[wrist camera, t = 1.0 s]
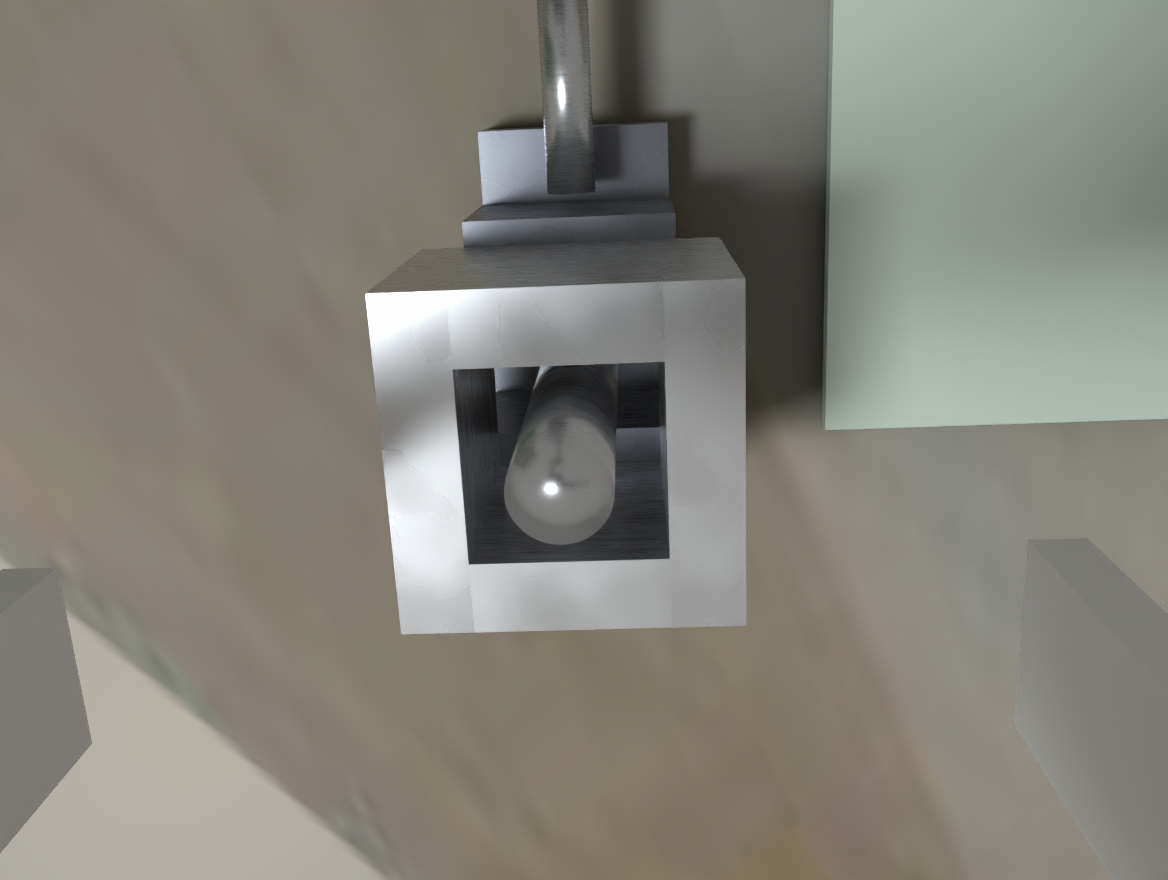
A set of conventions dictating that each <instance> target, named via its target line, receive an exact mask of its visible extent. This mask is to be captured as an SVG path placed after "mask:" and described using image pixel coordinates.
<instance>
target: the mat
mask: <svg viewBox="0 0 1168 880" xmlns="http://www.w3.org/2000/svg"><path fill="white" fill-rule="evenodd" d="M1142 419H1168V0H830V15H829V68H828V120H827V173H826V226H825V279H824V331H823V384H822V426H823V427H824V429H825V430H842V429H872V428H902V427H932V426H962V425H992V424H1022V423H1052V422H1082V421H1112V420H1142Z"/></svg>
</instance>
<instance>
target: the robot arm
mask: <svg viewBox="0 0 1168 880" xmlns="http://www.w3.org/2000/svg"><path fill="white" fill-rule="evenodd" d="M1014 725H1015V727H1016V729H1017V730H1018V732H1019V733H1020V735H1021V737H1022V738H1023V740H1024V741H1025V743H1026V745H1027V746H1028V748H1029V749H1030V751H1031V753H1032V754H1033V756H1034V757H1035V759H1036V761H1037V762H1038V764H1039V765H1040V767H1041V769H1042V770H1043V772H1044V773H1045V775H1046V777H1047V778H1048V780H1049V781H1050V783H1051V785H1052V786H1053V788H1054V789H1055V791H1056V793H1057V794H1058V796H1059V797H1060V799H1061V801H1062V802H1063V804H1064V805H1065V807H1066V809H1067V810H1068V812H1069V813H1070V815H1071V817H1072V818H1073V820H1074V821H1075V823H1076V825H1077V826H1078V828H1079V830H1080V831H1081V833H1082V834H1083V836H1084V838H1085V839H1086V841H1087V842H1088V844H1089V846H1090V847H1091V849H1092V850H1093V852H1094V854H1095V855H1096V857H1097V858H1098V860H1099V862H1100V863H1101V865H1102V866H1103V868H1104V870H1105V871H1106V873H1107V874H1108V876H1109V878H1110V879H1111V880H1168V614H1167V613H1166V612H1165V611H1163V610H1162V609H1161V608H1160V607H1159V606H1158V605H1157V604H1156V603H1155V602H1154V601H1153V600H1152V599H1151V598H1150V597H1149V596H1148V595H1147V594H1145V593H1144V592H1143V591H1142V590H1141V589H1140V588H1139V587H1138V586H1137V585H1136V584H1135V583H1134V582H1133V581H1132V580H1131V579H1130V578H1129V577H1127V576H1126V575H1125V574H1124V573H1123V572H1122V571H1121V570H1120V569H1119V568H1118V567H1117V566H1116V565H1115V564H1114V563H1113V562H1112V561H1111V560H1109V559H1108V558H1107V557H1106V556H1105V555H1104V554H1103V553H1102V552H1101V551H1100V550H1099V549H1098V548H1097V547H1096V546H1095V545H1094V544H1093V543H1092V542H1090V541H1089V540H1088V539H1087V538H1085V539H1050V540H1028V546H1027V559H1026V572H1025V586H1024V599H1023V612H1022V625H1021V639H1020V652H1019V665H1018V678H1017V692H1016V705H1015V718H1014ZM91 744H92V741H91V735H90V731H89V726H88V721H87V715H86V710H85V705H84V700H83V695H82V691H81V685H80V680H79V675H78V670H77V665H76V660H75V655H74V650H73V645H72V640H71V635H70V630H69V625H68V620H67V615H66V610H65V605H64V600H63V595H62V590H61V585H60V579H59V574H58V569H57V568H23V569H2V570H1V571H0V853H1V852H2V850H3V849H4V848H5V847H6V846H7V844H8V843H9V842H10V841H11V840H12V838H13V837H14V836H15V835H16V834H17V832H18V831H19V830H20V829H21V828H22V827H23V825H24V824H25V823H26V822H27V820H28V819H29V818H30V817H31V816H32V814H33V813H34V812H35V811H36V810H37V808H38V807H39V806H40V805H41V804H42V803H43V801H44V800H45V799H46V798H47V797H48V795H49V794H50V793H51V792H52V791H53V789H54V788H55V787H56V786H57V785H58V783H59V782H60V781H61V780H62V779H63V777H64V776H65V775H66V774H67V773H68V771H69V770H70V769H71V768H72V767H73V765H74V764H75V763H76V762H77V761H78V759H79V758H80V757H81V756H82V755H83V753H84V752H85V751H86V750H87V749H88V747H89V746H90V745H91Z"/></svg>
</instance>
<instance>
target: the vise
mask: <svg viewBox="0 0 1168 880" xmlns="http://www.w3.org/2000/svg"><path fill="white" fill-rule="evenodd" d="M537 10H538V29H539V47H540V65H541V83H542V102H543V120H544V127H526V128H505V129H486V130H483V131H479V132H478V142H479V156H480V170H481V183H482V197H483V205H482V206H481V207H480V208H479V209H477V210H476V211H475V212H474V213H473V214H471V215H470V216H469V217H468V218H466V219H465V220H464V221H463V222H462V227H463V240H464V248H465V247H489V246H513V245H537V244H561V243H585V242H609V241H633V240H656V239H676V212H675V210H674V208H673V205H672V203H671V200H670V198H669V167H668V123H667V122H666V121H654V122H632V123H611V124H593V120H592V96H591V73H590V49H589V25H588V2H587V0H537ZM495 377H496V391H497V392H496V403H497V417H498V431H499V445H500V459H501V467H509V469H508V472H507V476H506V479H505V484H504V499H505V504H506V507H507V510H508V512H509V515H510V516H511V518H512V520H513V521H514V522H515V524H516V525H517V526H518V527H519V528H520V529H521V530H522V531H523V532H525V533H526V534H527V535H529V536H530V537H532V538H534V539H536V540H539V541H541V542H545V543H548V544H555V545H564V544H572V543H576V542H579V541H582V540H584V539H586V538H588V537H590V536H591V535H593V534H594V533H596V532H597V531H598V530H599V529H600V528H601V527H602V526H603V525H604V524H605V522H606V521H607V519H608V517H609V515H610V513H611V511H612V508H613V504H614V496H615V463H639V462H661V454H660V417H659V379H658V362H644V363H616V364H589V365H561V366H534V367H507V368H495Z"/></svg>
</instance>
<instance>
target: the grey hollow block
mask: <svg viewBox="0 0 1168 880" xmlns="http://www.w3.org/2000/svg"><path fill="white" fill-rule="evenodd" d="M365 296H366V305H367V314H368V324H369V333H370V343H371V352H372V362H373V371H374V380H375V390H376V399H377V409H378V418H379V428H380V437H381V446H382V456H383V465H384V475H385V484H386V494H387V503H388V512H389V522H390V531H391V541H392V550H393V560H394V569H395V578H396V588H397V597H398V607H399V616H400V626H401V634H428V633H468V632H508V631H548V630H588V629H628V628H668V627H708V626H746V311H745V277H744V275H743V274H742V272H741V271H740V269H739V268H738V266H737V264H736V263H735V261H734V260H733V258H732V257H731V255H730V253H729V252H728V250H727V249H726V247H725V246H724V244H723V242H722V241H721V239H720V238H719V237H704V238H680V239H656V240H633V241H609V242H585V243H561V244H537V245H513V246H489V247H465V248H441V249H422V250H421V251H419V252H418V253H417V254H416V255H414V256H413V257H412V258H410V259H409V260H408V261H407V262H405V263H404V264H403V265H401V266H400V267H399V268H398V269H396V270H395V271H394V272H392V273H391V274H390V275H389V276H387V277H386V278H385V279H383V280H382V281H381V282H380V283H378V284H377V285H376V286H374V287H373V288H372V289H371V290H369V291H368V292H367V293H365ZM644 362H658V379H659V417H660V454H661V462H639V463H615V496H614V504H613V508H612V511H611V513H610V515H609V517H608V519H607V521H606V522H605V524H604V525H603V526H602V527H601V528H600V529H599V530H598V531H597V532H596V533H594V534H593V535H591V536H590V537H588V538H586V539H584V540H582V541H579V542H576V543H572V544H564V545H555V544H548V543H545V542H541V541H539V540H536V539H534V538H532V537H530V536H529V535H527V534H526V533H525V532H523V531H522V530H521V529H520V528H519V527H518V526H517V525H516V524H515V522H514V521H513V520H512V518H511V516H510V515H509V512H508V510H507V507H506V504H505V499H504V484H505V479H506V476H507V472H508V469H509V467H501V459H500V445H499V431H498V417H497V403H496V390H495V376H494V368H507V367H534V366H561V365H589V364H616V363H644Z"/></svg>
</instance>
